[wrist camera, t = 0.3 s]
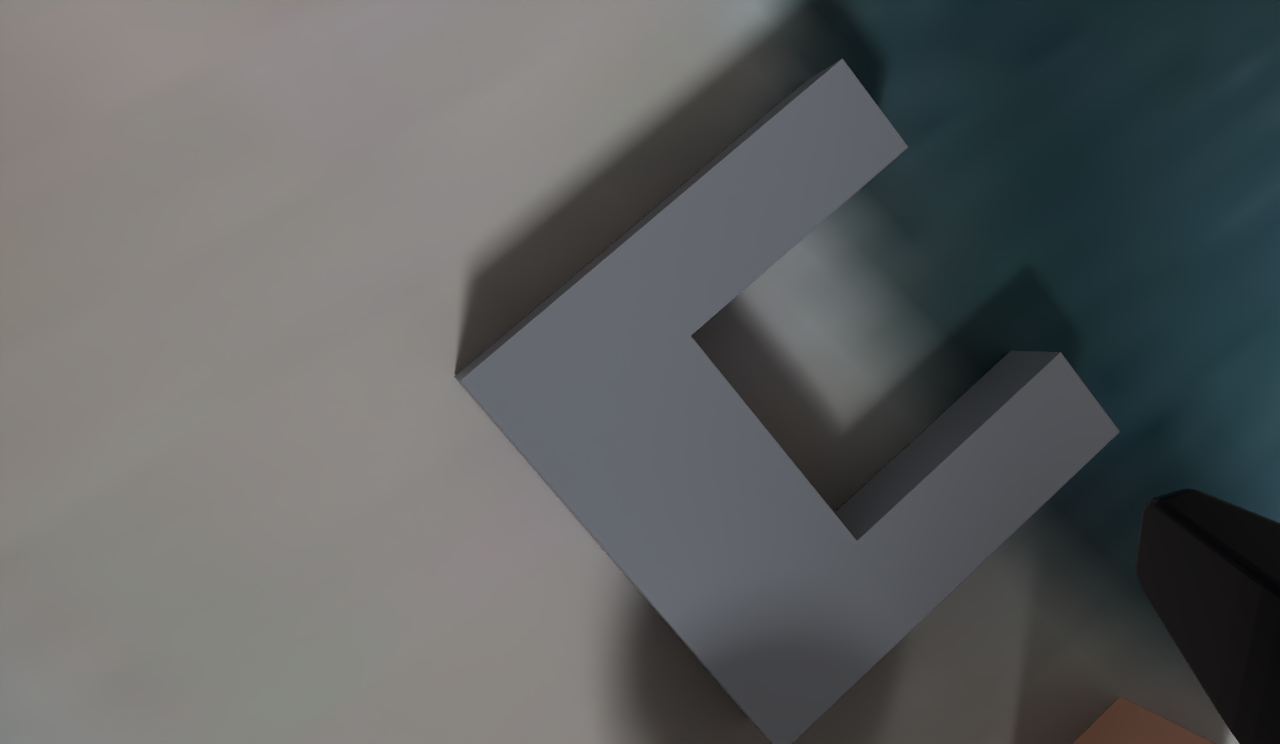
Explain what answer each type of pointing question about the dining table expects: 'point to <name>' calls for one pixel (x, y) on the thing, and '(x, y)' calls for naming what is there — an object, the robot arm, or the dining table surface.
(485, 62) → the dining table surface
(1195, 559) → the robot arm
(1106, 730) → the copper brown block
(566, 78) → the dining table surface
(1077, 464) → the notched board
